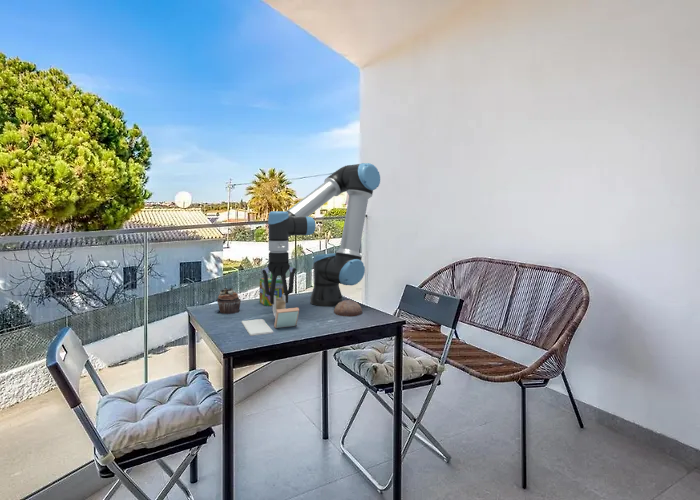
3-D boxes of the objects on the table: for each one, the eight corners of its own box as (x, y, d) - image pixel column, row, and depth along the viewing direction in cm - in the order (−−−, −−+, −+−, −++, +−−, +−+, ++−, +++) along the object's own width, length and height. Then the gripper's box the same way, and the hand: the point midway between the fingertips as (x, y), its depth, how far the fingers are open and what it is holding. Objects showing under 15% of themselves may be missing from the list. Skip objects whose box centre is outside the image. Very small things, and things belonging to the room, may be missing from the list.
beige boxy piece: (283, 309, 163) (283, 297, 163) (292, 317, 151) (292, 303, 151) (269, 310, 161) (268, 298, 160) (276, 318, 149) (276, 305, 148)
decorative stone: (333, 310, 177) (332, 297, 176) (360, 309, 178) (360, 297, 178) (334, 317, 165) (334, 304, 165) (364, 316, 166) (364, 303, 166)
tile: (295, 323, 153) (298, 307, 148) (296, 326, 152) (299, 310, 147) (274, 325, 150) (276, 309, 145) (275, 328, 148) (277, 312, 144)
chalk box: (259, 302, 190) (258, 271, 188) (278, 300, 194) (277, 269, 193) (264, 306, 182) (264, 274, 180) (284, 304, 186) (284, 272, 185)
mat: (262, 320, 159) (262, 318, 159) (273, 333, 142) (273, 331, 142) (241, 322, 156) (241, 321, 156) (250, 335, 139) (250, 334, 139)
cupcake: (239, 314, 169) (239, 290, 168) (215, 314, 167) (215, 290, 166) (242, 308, 178) (241, 286, 177) (219, 309, 177) (218, 286, 176)
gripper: (259, 253, 149) (260, 316, 151) (301, 251, 155) (301, 312, 158) (255, 251, 156) (256, 311, 158) (296, 250, 162) (296, 307, 164)
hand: (279, 311), depth 158 cm, fingers closed on beige boxy piece, 3 cm apart
